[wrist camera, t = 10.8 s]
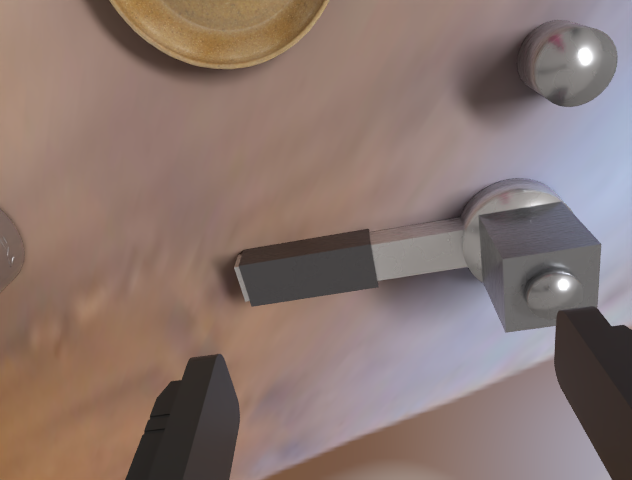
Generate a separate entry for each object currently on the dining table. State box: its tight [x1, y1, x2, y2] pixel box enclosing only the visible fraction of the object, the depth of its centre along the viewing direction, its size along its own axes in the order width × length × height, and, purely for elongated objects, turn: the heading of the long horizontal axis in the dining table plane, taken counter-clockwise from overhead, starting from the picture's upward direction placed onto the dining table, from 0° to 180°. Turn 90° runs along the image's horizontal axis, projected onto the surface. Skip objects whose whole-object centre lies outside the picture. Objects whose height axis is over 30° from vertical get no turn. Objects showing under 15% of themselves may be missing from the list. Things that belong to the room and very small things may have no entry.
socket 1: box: [517, 20, 617, 107], centre depth 32 cm, size 4×4×4 cm
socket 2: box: [478, 201, 601, 332], centre depth 34 cm, size 6×6×7 cm
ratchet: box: [234, 178, 573, 306], centre depth 38 cm, size 25×8×6 cm, turn 102°
